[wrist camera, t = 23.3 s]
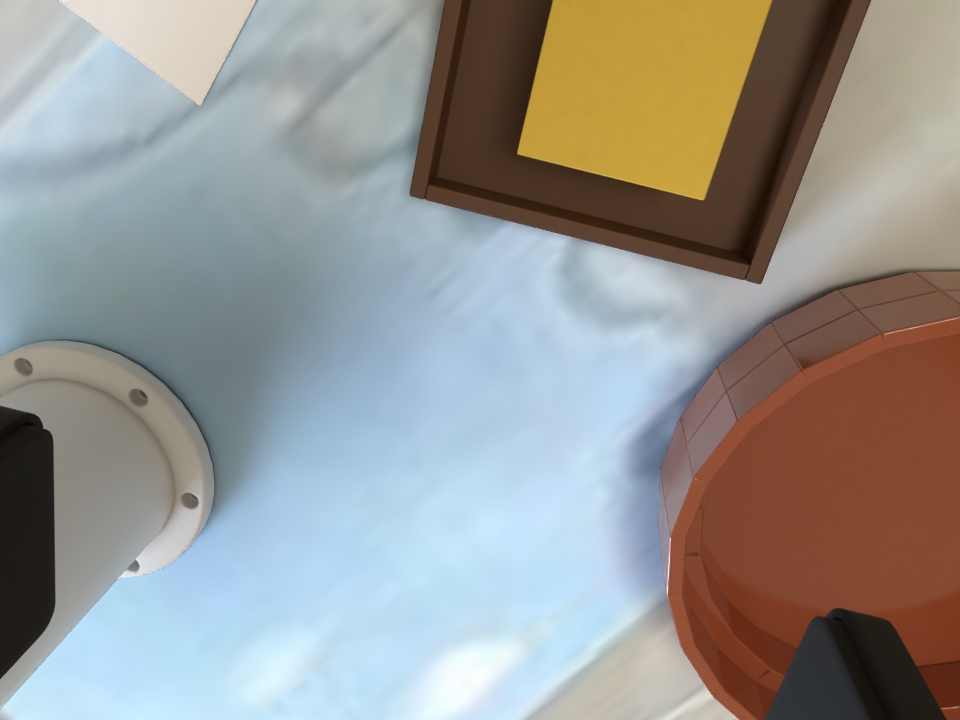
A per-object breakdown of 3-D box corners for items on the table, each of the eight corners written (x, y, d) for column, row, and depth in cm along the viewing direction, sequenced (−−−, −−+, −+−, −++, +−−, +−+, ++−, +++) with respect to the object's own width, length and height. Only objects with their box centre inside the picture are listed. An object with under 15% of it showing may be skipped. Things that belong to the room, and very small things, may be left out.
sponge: (529, 137, 28) (516, 154, 24) (595, -142, 25) (595, -184, 20) (686, 176, 28) (704, 201, 24) (777, -100, 25) (818, -133, 20)
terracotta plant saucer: (602, 616, 37) (603, 705, 32) (752, 208, 29) (785, 242, 24) (1021, 730, 36) (1090, 841, 31) (1294, 343, 28) (1448, 408, 23)
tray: (421, 185, 30) (408, 196, 28) (503, -248, 25) (494, -276, 22) (749, 268, 30) (761, 285, 28) (909, -157, 24) (940, -177, 22)
